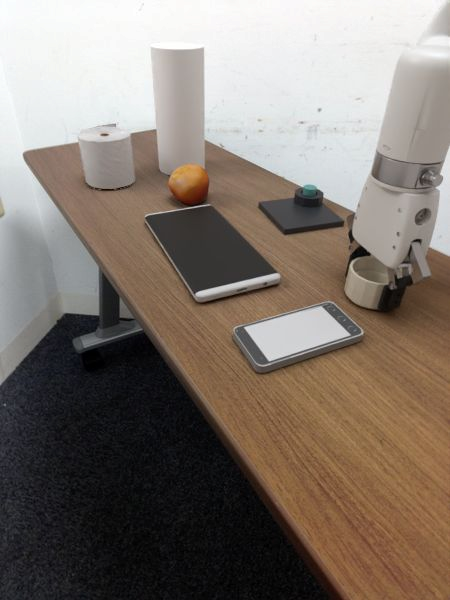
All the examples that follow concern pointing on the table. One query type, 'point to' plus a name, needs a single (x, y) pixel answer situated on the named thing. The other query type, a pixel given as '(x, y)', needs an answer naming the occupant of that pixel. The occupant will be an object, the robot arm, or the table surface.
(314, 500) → the table surface
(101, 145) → the toilet tissue
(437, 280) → the table surface
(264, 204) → the scale
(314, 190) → the button
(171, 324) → the table surface
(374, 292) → the bowl
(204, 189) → the fruit
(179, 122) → the tall pillar cylinder
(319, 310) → the smartphone
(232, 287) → the tablet
